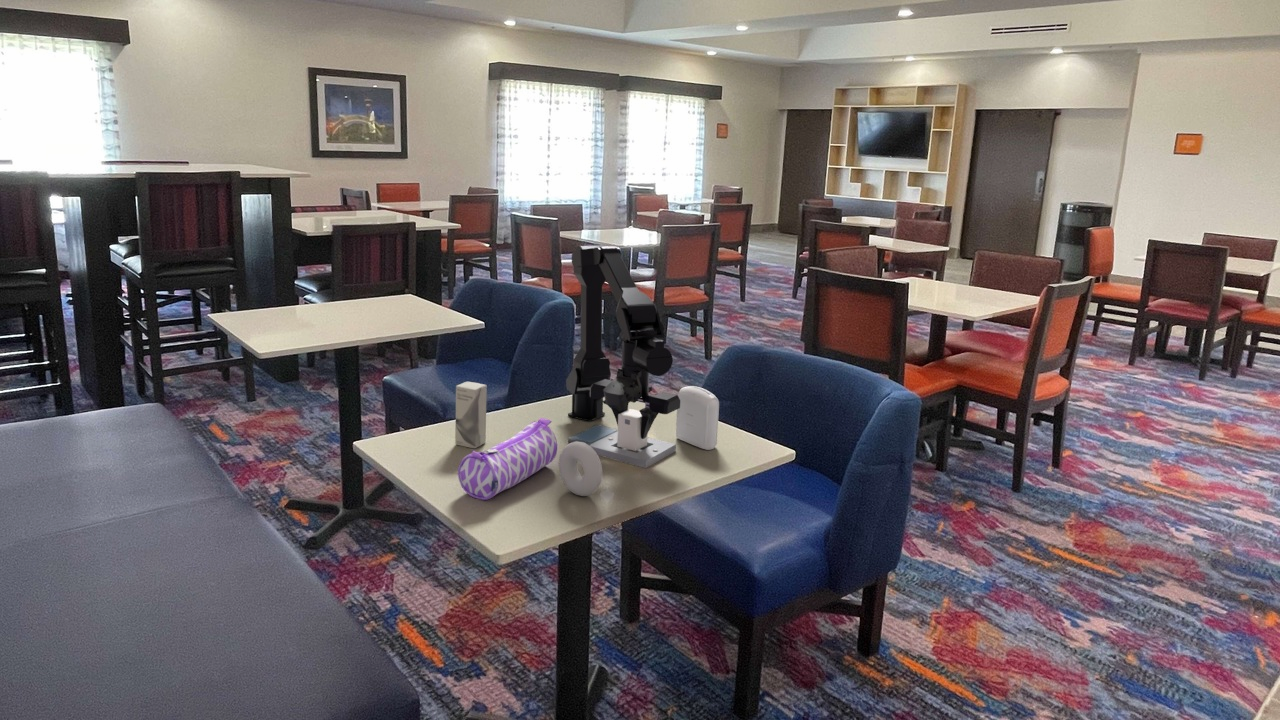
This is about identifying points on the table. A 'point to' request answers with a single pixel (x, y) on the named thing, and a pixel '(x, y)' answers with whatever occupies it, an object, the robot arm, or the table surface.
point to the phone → (592, 434)
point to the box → (470, 414)
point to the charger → (630, 430)
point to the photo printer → (697, 417)
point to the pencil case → (508, 461)
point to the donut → (590, 467)
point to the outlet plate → (640, 458)
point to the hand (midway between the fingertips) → (632, 435)
